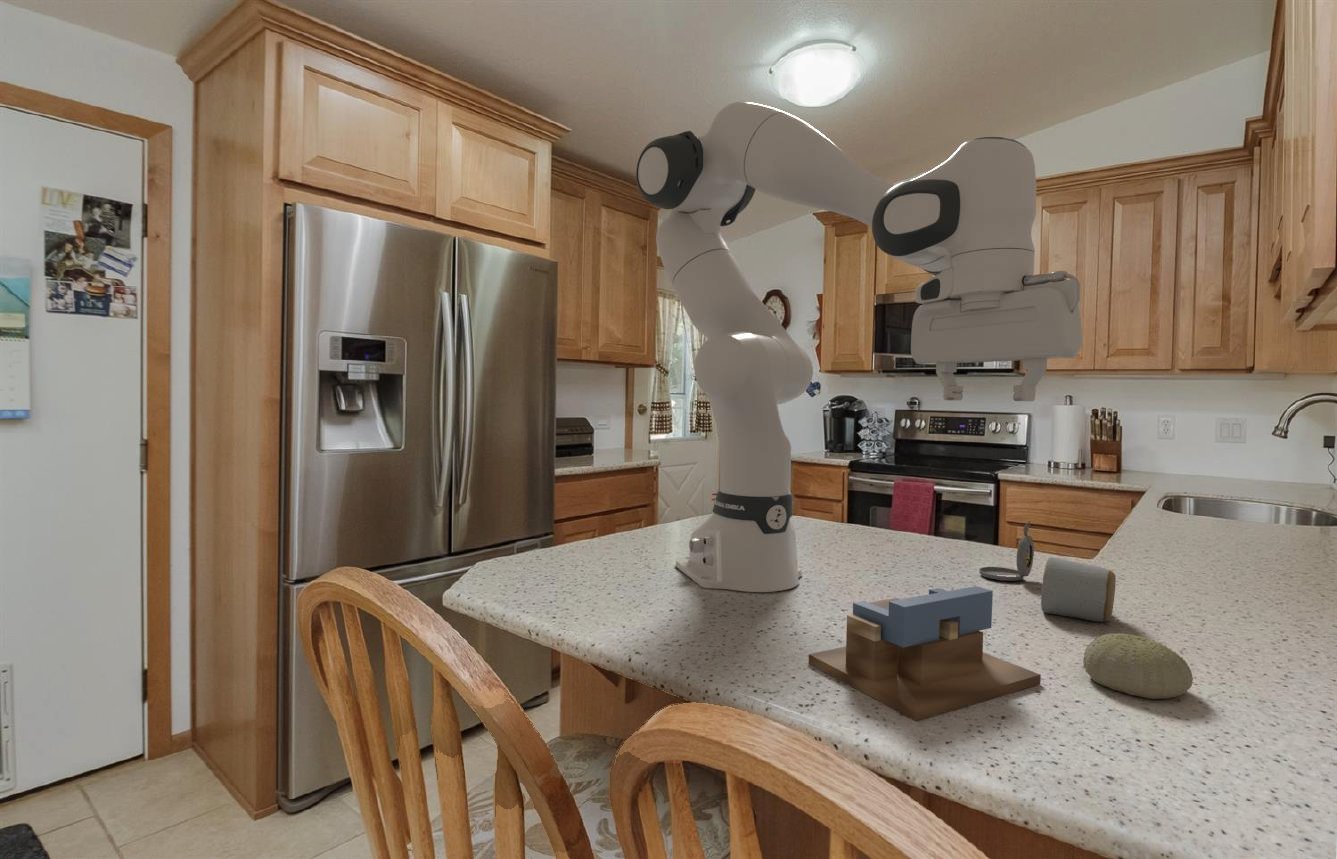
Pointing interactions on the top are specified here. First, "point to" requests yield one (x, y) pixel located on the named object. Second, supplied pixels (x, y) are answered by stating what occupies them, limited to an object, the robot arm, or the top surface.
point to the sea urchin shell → (1137, 666)
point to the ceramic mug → (1077, 590)
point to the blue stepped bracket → (930, 614)
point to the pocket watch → (1023, 561)
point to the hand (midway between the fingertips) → (986, 400)
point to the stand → (921, 669)
